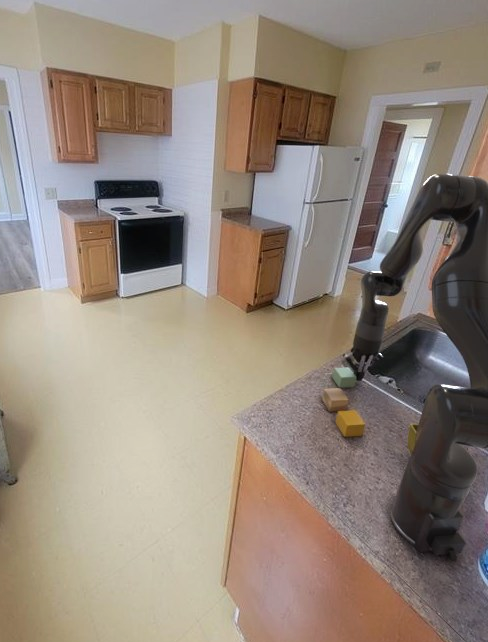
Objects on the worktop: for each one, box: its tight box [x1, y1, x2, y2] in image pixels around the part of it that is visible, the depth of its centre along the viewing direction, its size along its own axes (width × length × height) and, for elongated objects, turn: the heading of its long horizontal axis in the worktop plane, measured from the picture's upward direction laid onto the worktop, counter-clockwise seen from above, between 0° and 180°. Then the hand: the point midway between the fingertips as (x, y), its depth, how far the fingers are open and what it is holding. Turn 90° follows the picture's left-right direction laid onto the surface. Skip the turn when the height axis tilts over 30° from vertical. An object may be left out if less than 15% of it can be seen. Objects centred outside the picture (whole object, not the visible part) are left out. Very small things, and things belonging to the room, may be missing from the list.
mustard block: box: [335, 409, 366, 438], centre depth 86 cm, size 5×5×4 cm
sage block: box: [332, 366, 357, 389], centre depth 104 cm, size 5×5×4 cm
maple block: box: [321, 387, 349, 412], centre depth 94 cm, size 5×5×4 cm
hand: (357, 379), depth 105 cm, fingers closed
